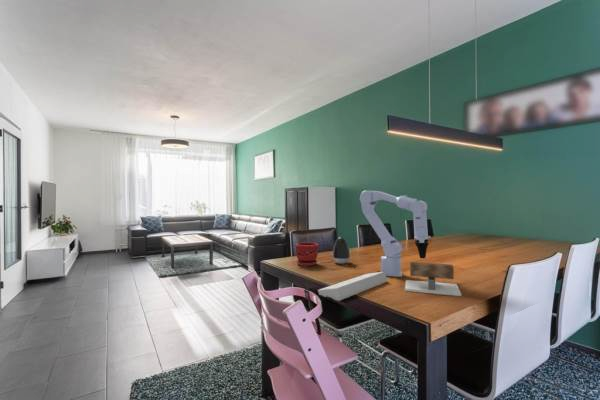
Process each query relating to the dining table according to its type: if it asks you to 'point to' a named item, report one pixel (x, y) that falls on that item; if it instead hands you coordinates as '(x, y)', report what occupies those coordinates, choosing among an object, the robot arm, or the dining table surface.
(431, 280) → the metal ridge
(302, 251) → the plant pot
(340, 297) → the decorative molding
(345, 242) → the dark grey rounded shape
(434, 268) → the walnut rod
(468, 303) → the dining table surface
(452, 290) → the grey board
